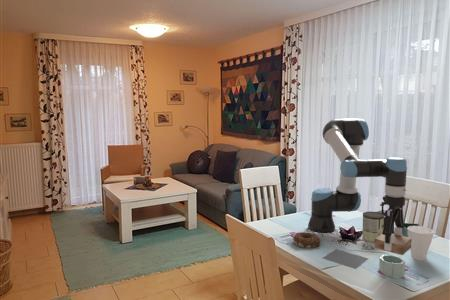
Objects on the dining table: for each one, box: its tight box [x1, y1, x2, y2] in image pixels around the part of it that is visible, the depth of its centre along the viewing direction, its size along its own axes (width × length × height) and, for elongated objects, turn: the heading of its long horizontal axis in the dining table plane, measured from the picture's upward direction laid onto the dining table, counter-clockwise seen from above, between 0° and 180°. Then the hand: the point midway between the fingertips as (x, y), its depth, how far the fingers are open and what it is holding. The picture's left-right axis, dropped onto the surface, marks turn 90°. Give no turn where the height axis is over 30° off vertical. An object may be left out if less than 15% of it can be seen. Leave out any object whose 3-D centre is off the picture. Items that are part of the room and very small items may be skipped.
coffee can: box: [361, 211, 384, 245], centre depth 179 cm, size 10×10×14 cm
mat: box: [322, 248, 369, 270], centre depth 157 cm, size 16×14×1 cm
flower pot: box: [402, 222, 421, 237], centre depth 175 cm, size 9×9×9 cm
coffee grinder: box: [377, 195, 395, 234], centre depth 196 cm, size 16×11×18 cm
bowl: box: [378, 254, 406, 279], centre depth 144 cm, size 9×9×6 cm
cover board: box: [374, 234, 412, 256], centre depth 143 cm, size 11×11×4 cm
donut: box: [293, 231, 321, 249], centre depth 175 cm, size 14×14×5 cm
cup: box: [407, 225, 434, 261], centre depth 158 cm, size 10×10×14 cm
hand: (392, 246), depth 143 cm, fingers closed on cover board, 11 cm apart
